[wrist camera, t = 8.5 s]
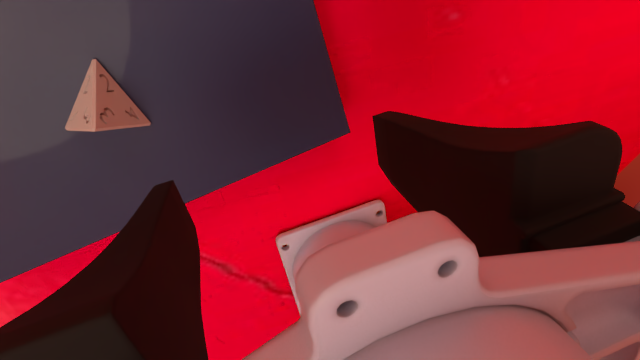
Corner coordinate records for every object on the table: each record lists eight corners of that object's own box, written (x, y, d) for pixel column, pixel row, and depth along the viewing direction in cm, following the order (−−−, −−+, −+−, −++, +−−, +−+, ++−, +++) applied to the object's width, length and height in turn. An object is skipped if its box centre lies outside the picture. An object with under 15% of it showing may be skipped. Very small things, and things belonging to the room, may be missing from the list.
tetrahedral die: (129, 143, 19) (147, 179, 17) (63, 128, 17) (76, 167, 15) (158, 80, 18) (180, 111, 16) (92, 56, 16) (109, 89, 14)
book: (333, 114, 24) (350, 132, 22) (5, 253, 22) (-16, 289, 20) (243, -187, 16) (254, -209, 14) (-282, -14, 14) (-371, -6, 12)
